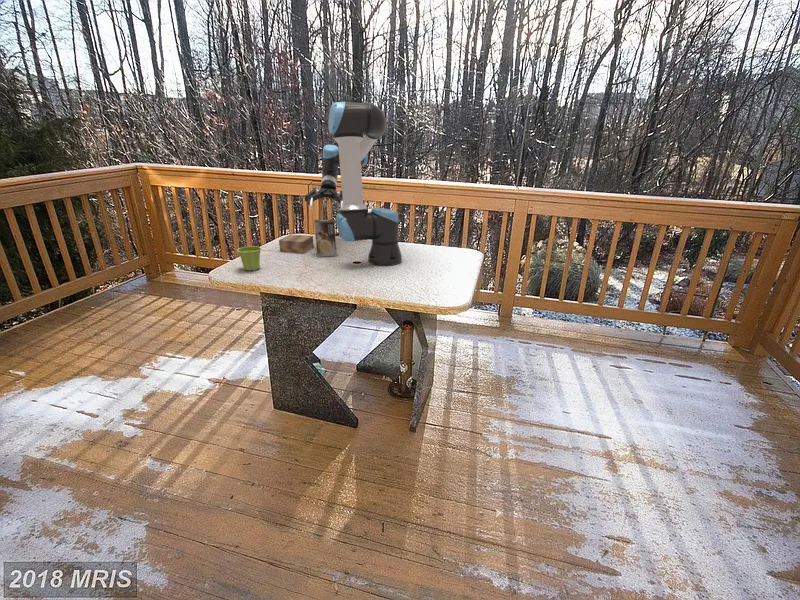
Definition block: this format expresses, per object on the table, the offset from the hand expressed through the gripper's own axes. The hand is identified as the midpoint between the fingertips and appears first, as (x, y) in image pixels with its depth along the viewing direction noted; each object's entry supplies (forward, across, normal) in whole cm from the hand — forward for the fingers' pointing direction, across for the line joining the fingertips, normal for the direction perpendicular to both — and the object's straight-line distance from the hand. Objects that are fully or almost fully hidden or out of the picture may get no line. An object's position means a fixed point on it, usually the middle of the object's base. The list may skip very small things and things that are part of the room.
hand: (326, 209), depth 177 cm
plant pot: (+26, +29, -17) cm, 42 cm away
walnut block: (-2, +13, -25) cm, 29 cm away
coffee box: (+7, -1, -20) cm, 22 cm away
